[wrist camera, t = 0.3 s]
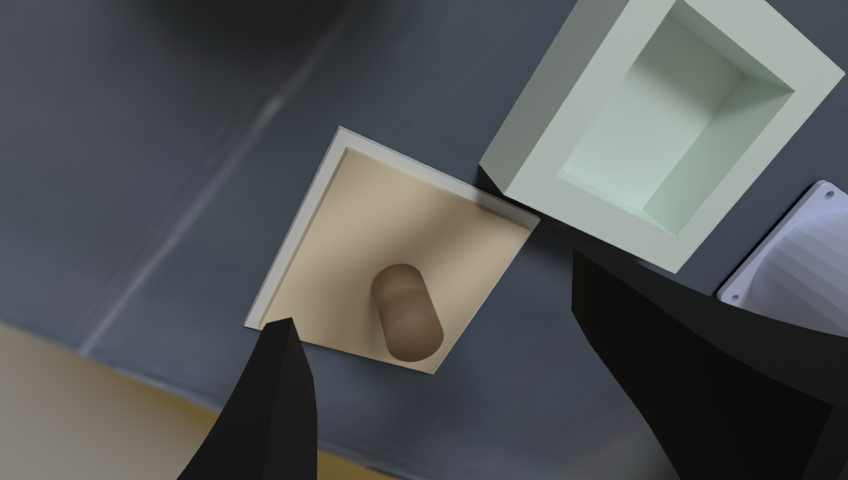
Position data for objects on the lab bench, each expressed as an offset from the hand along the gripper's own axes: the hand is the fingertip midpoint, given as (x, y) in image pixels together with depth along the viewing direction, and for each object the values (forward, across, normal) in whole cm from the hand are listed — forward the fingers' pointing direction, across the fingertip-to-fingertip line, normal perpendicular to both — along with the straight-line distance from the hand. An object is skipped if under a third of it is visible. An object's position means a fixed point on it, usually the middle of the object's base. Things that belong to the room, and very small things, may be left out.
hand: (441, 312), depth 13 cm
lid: (+9, 0, +5) cm, 10 cm away
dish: (+10, -11, 0) cm, 15 cm away
